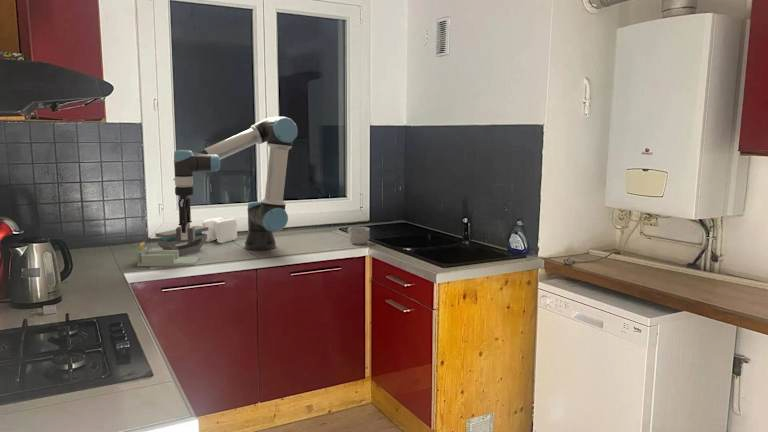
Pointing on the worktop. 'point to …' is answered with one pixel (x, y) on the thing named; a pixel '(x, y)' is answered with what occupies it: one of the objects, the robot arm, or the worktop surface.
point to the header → (163, 258)
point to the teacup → (358, 235)
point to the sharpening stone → (190, 247)
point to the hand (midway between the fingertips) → (185, 238)
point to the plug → (190, 234)
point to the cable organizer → (221, 229)
